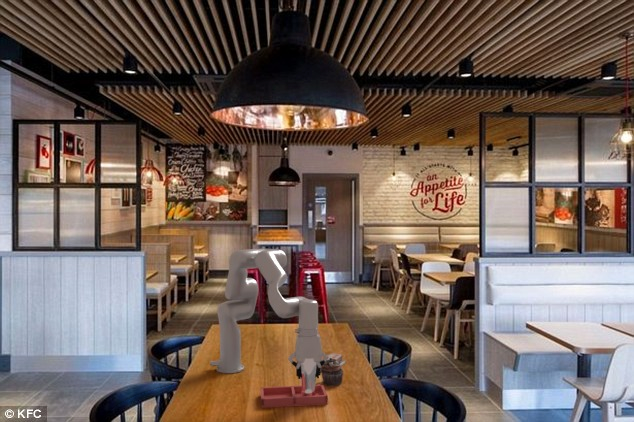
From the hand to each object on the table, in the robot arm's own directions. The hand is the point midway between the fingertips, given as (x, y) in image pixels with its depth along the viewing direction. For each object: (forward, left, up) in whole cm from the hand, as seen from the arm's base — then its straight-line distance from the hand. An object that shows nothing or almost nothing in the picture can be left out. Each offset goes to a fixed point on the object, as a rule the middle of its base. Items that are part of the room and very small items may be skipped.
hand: (308, 377), depth 204 cm
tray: (-6, 0, -8) cm, 10 cm away
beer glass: (0, 0, -7) cm, 7 cm away
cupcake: (+12, +18, -9) cm, 23 cm away
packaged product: (+14, +40, -9) cm, 44 cm away
